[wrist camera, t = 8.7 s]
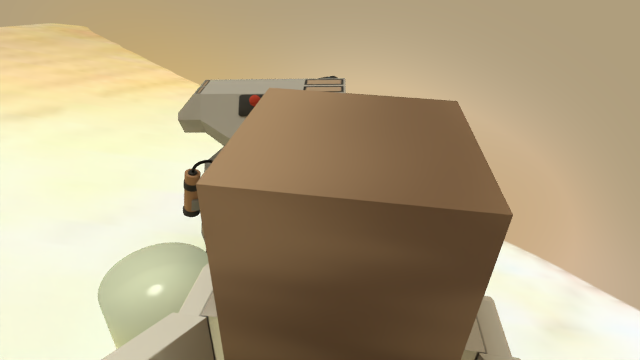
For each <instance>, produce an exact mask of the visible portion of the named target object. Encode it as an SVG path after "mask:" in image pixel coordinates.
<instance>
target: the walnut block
mask: <svg viewBox="0 0 640 360" xmlns="http://www.w3.org/2000/svg"><path fill="white" fill-rule="evenodd" d="M196 189H197V195H198V201H199V207H200V213H201V219H202V225H203V232H204V238H205V244H206V250H207V256H208V262H209V269H210V275H211V281H212V287H213V293H214V299H215V306H216V312H217V318H218V324H219V330H220V336H221V342H222V349H223V355H224V360H461V358H462V355H463V352H464V350H465V347H466V344H467V341H468V338H469V336H470V333H471V330H472V327H473V325H474V322H475V319H476V316H477V313H478V311H479V308H480V305H481V302H482V300H483V297H484V294H485V291H486V288H487V286H488V283H489V280H490V277H491V275H492V272H493V269H494V266H495V263H496V261H497V258H498V255H499V252H500V249H501V247H502V244H503V241H504V238H505V235H506V232H507V230H508V227H509V224H510V222H511V219H512V216H513V214H512V213H511V210H510V208H509V206H508V204H507V202H506V200H505V198H504V196H503V194H502V192H501V190H500V188H499V186H498V184H497V182H496V180H495V177H494V175H493V173H492V172H491V169H490V167H489V165H488V163H487V161H486V159H485V157H484V155H483V153H482V151H481V149H480V147H479V145H478V143H477V141H476V139H475V136H474V135H473V132H472V131H471V128H470V126H469V124H468V122H467V120H466V118H465V116H464V114H463V112H462V110H461V108H460V106H459V104H458V102H457V101H446V100H433V99H420V98H406V97H405V98H404V97H392V96H377V95H364V94H349V93H337V92H323V91H309V90H295V89H281V88H269V89H268V90H267V91H266V93H265V94H264V95H263V96H262V98H261V99H260V100H259V102H258V103H257V104H256V106H255V107H254V108H253V110H252V111H251V112H250V113H249V115H248V116H247V117H246V119H245V120H244V121H243V123H242V124H241V125H240V127H239V128H238V129H237V131H236V132H235V133H234V134H233V136H232V137H231V138H230V140H229V141H228V142H227V144H226V145H225V146H224V148H223V149H222V150H221V152H220V153H219V154H218V155H217V157H216V158H215V159H214V161H213V162H212V163H211V165H210V166H209V167H208V169H207V170H206V171H205V172H204V174H203V175H202V176H201V178H200V179H199V180H198V182H197V183H196Z"/></svg>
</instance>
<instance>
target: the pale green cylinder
mask: <svg viewBox="0 0 640 360" xmlns="http://www.w3.org/2000/svg"><path fill="white" fill-rule="evenodd" d="M208 263H209V262H208V256H207V253H206V252H205V251H204V250H202V249H200V248H198V247H196V246H193V245H190V244H185V243H162V244H156V245H152V246H148V247H145V248H142V249H140V250H138V251H135V252H133V253H131V254H129V255H128V256H126V257H125V258H123V259H122V260H120V261H119V262H118V263H116V264H115V265H114V266H113V267H112V268H111V269H110V270H109V271H108V272H107V274H106V275H105V277H104V278H103V280H102V282H101V284H100V287H99V291H98V301H99V305H100V307H101V310H102V313H103V315H104V318H105V320H106V323H107V326H108V328H109V331H110V333H111V336H112V339H113V341H114V344H115V346H116V349H118V348H120V347H121V346H123V345H124V344H126V343H127V342H129V341H130V340H132V339H133V338H135V337H136V336H138V335H139V334H141V333H142V332H144V331H145V330H147V329H148V328H150V327H151V326H153V325H154V324H156V323H157V322H159V321H160V320H162V319H163V318H165V317H166V316H168V315H169V314H171V313H179V311H180V309H181V307H182V305H183V304H184V302H185V300H186V298H187V296H188V294H189V293H190V291H191V289H192V287H193V285H194V283H195V282H196V280H197V278H198V276H199V274H200V272H201V271H202V269H203V267H204V266H205V265H207V264H208Z"/></svg>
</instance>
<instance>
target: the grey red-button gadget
mask: <svg viewBox="0 0 640 360" xmlns="http://www.w3.org/2000/svg"><path fill="white" fill-rule="evenodd" d="M269 88H281V89H295V90H309V91H323V92H337V93H345V78H340V79H339V78H337V77H335V76H330V77H323V78H318V79H251V80H250V79H249V80H248V79H246V80H205V81H204V82H203V83H202V85H201V86H200V87H199V88H198V89H197V91H196V92H195V93H194V94H193V95H192V97H191V98H190V99H189V100H188V102H187V103H186V104H185V105H184V107H183V108H182V109H181V110H180V112H179V113H178V120H179V122H180V124H181V126H182V128H183V130H184V132H206V133H207V134H209V135H210V136H211V137H213V138H214V139H215V140H217V141H218V142H219V143H221V144H222V145H224V146H225V145H226V144H227V142H228V141H229V140H230V138H231V137H232V136H233V134H234V133H235V132H236V131H237V129H238V128H239V127H240V125H241V124H242V123H243V121H244V120H245V119H246V117H247V116H248V115H249V113H250V112H251V111H252V110H253V108H254V107H255V106H256V104H257V103H258V102H259V100H260V99H261V98H262V96H263V95H264V94H265V93H266V91H267V90H268V89H269ZM223 148H224V147H223ZM223 148H222V149H223ZM222 149H221V150H222ZM221 150H219V151H218V152H217V153H216V154H215V155H213V156H212V157H211V158H210V159H209V160H204V161H200V162H198V163H196V164H195V165H194V166H193V168H192V169H188V170H186V171H185V179H184V206H183V213H184V215H186V216H188V217H195V216H197V215H199V213H200V207H199V201H198V195H197V189H196V183H197V182H198V180H199V179H200V171H199V170H196V169H195V168H196V167H197V166H198V165H200V164H203V163H205V171H206V170H207V169H208V167H209V166H210V165H211V163H212V162H213V161H214V159H215V158H216V157H217V155H218V154H219V153H220V152H221ZM205 171H204V172H205ZM201 233H202V236H203V238H204V232H203V225H202V232H201ZM204 241H205V238H204ZM206 253H207V250H206Z"/></svg>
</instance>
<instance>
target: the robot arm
mask: <svg viewBox="0 0 640 360" xmlns="http://www.w3.org/2000/svg"><path fill="white" fill-rule="evenodd" d="M101 360H224V355H223V349H222V342H221V336H220V330H219V324H218V318H217V312H216V306H215V299H214V293H213V287H212V281H211V275H210V269H209V263H208V264H207V265H205V266H204V267H203V269H202V271H201V272H200V274H199V276H198V278H197V280H196V282H195V283H194V285H193V287H192V289H191V291H190V293H189V294H188V296H187V298H186V300H185V302H184V304H183V305H182V307H181V309H180V311H179V313H171V314H169V315H168V316H166V317H165V318H163V319H162V320H160V321H159V322H157V323H156V324H154V325H153V326H151V327H150V328H148V329H147V330H145V331H144V332H142V333H141V334H139V335H138V336H136V337H135V338H133V339H132V340H130V341H129V342H127V343H126V344H124V345H123V346H121V347H120V348H118V349H117V350H115V351H114V352H112V353H111V354H109V355H108V356H106V357H105V358H103V359H101ZM461 360H520V359H519V358H514V357H512V355H511V352H510V349H509V346H508V343H507V340H506V337H505V334H504V331H503V328H502V325H501V322H500V319H499V316H498V313H497V310H496V307H495V303H494V300H493V299H492V298H491V297H488V296H484V297H483V300H482V302H481V305H480V308H479V311H478V313H477V316H476V319H475V322H474V325H473V327H472V330H471V333H470V336H469V338H468V341H467V344H466V347H465V350H464V352H463V355H462V358H461Z"/></svg>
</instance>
